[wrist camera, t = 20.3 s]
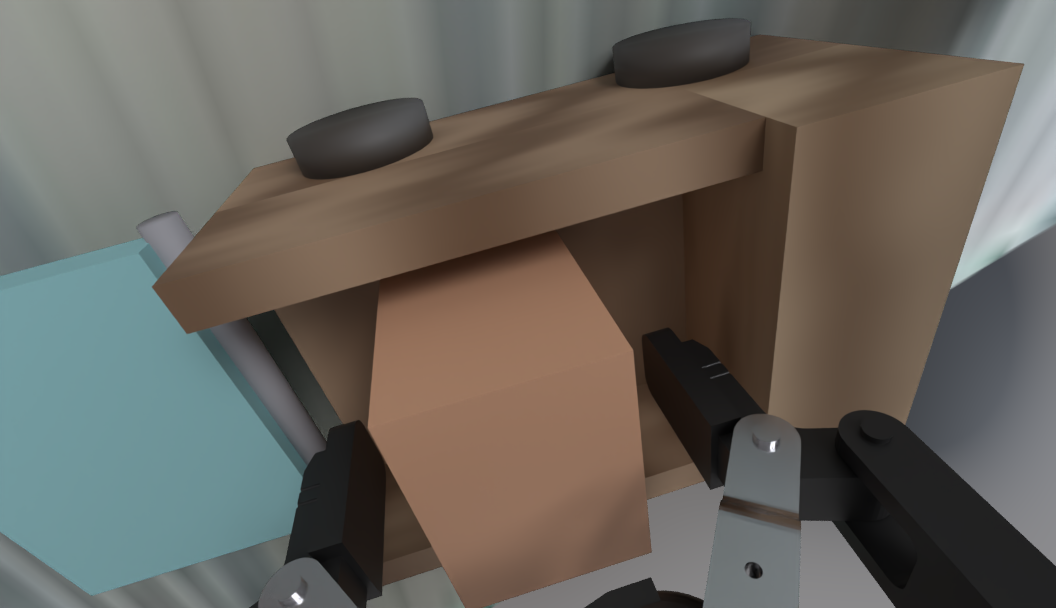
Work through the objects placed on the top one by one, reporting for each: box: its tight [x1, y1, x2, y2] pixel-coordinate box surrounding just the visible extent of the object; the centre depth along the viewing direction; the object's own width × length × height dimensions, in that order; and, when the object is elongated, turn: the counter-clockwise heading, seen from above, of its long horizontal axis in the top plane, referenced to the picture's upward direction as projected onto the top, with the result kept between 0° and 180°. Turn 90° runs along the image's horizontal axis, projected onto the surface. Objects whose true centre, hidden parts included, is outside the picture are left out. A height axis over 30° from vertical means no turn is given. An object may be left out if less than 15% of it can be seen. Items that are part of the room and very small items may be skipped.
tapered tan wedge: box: [368, 230, 652, 608], centre depth 14 cm, size 5×7×7 cm
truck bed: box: [152, 18, 1024, 586], centre depth 17 cm, size 18×14×9 cm
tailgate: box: [0, 211, 327, 596], centre depth 16 cm, size 2×12×10 cm
